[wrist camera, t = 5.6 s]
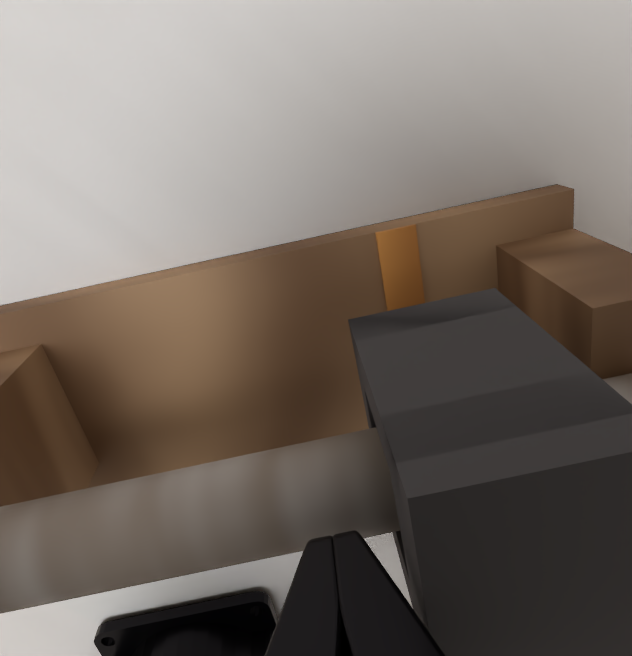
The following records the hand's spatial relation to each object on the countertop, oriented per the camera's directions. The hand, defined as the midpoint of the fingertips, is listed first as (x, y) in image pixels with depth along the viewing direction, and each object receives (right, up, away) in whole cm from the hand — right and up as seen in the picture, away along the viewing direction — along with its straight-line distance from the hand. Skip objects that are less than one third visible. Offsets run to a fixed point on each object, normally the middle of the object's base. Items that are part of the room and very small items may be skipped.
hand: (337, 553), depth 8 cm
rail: (-1, +3, +7) cm, 7 cm away
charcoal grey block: (+2, +2, +3) cm, 4 cm away
